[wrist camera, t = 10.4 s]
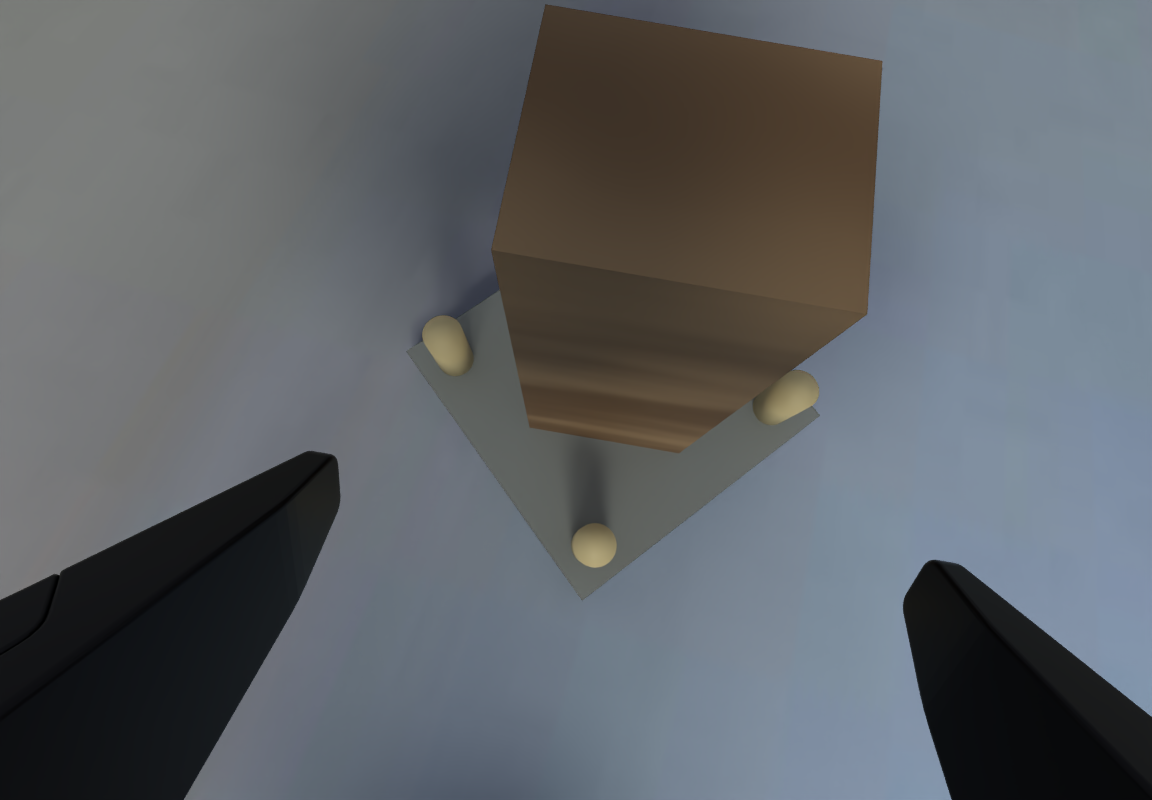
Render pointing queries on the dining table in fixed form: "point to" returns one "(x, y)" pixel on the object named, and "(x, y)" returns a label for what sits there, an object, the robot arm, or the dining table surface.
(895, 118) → the dining table surface
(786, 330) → the walnut shelf block
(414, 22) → the dining table surface
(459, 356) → the peg plate
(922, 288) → the dining table surface
